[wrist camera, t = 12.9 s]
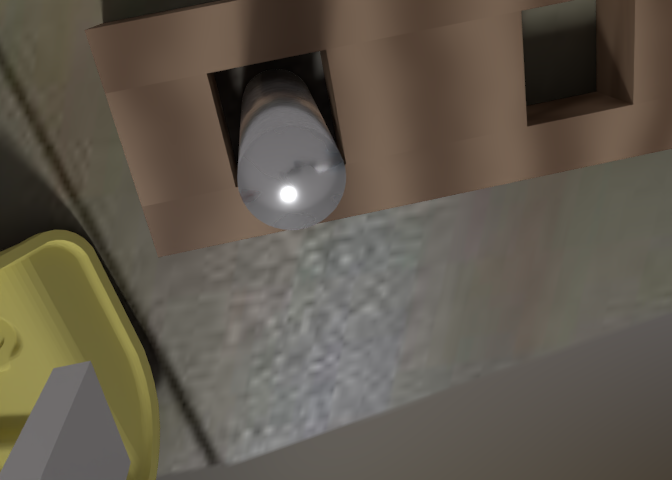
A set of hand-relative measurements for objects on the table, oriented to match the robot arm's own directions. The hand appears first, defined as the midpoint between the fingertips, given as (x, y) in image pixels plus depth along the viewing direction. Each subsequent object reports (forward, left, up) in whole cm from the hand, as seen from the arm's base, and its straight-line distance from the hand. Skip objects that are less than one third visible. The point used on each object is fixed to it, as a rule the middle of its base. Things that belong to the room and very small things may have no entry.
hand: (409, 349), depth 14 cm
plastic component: (+20, +13, -26) cm, 35 cm away
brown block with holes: (-6, -1, -25) cm, 26 cm away
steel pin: (+2, -1, -25) cm, 25 cm away
